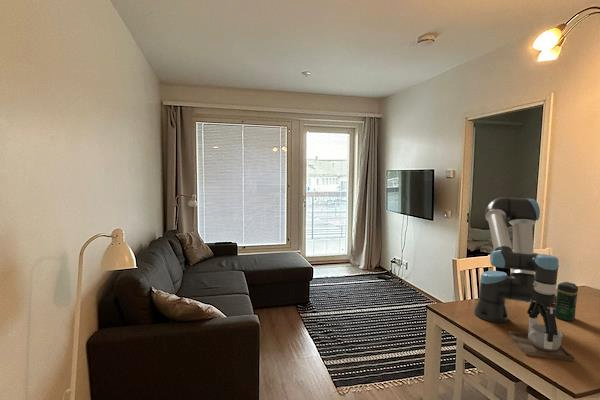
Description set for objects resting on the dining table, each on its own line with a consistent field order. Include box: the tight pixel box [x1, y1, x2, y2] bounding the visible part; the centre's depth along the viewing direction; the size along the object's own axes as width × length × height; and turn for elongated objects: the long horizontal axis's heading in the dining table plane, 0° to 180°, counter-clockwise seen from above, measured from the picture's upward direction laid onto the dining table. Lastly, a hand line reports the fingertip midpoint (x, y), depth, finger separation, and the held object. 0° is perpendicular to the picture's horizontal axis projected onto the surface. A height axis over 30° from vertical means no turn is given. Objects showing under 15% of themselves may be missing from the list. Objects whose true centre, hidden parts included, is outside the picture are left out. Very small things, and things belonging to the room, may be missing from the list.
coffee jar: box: [554, 281, 579, 322], centre depth 165 cm, size 10×8×19 cm
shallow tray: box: [508, 330, 575, 363], centre depth 136 cm, size 17×17×2 cm
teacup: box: [528, 323, 563, 351], centre depth 134 cm, size 14×11×8 cm
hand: (539, 340), depth 135 cm, fingers open, 13 cm apart
